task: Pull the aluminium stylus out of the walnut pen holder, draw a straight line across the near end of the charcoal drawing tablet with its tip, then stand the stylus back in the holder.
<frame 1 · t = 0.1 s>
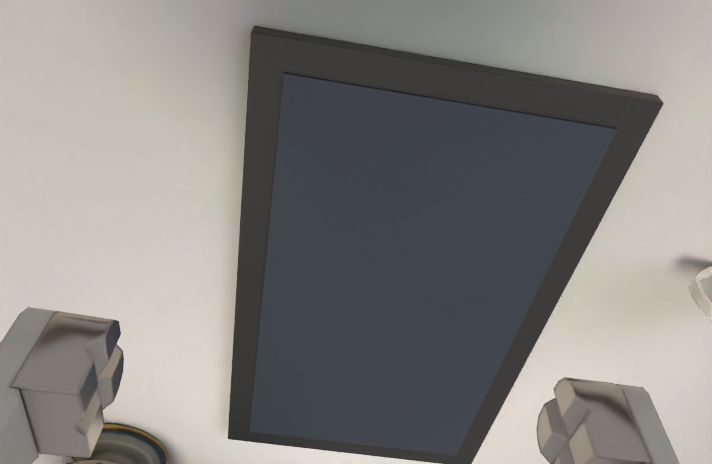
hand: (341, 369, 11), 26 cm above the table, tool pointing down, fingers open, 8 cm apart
apothecary jar: (120, 449, 61), on the table
drawing tablet: (391, 303, 46), on the table
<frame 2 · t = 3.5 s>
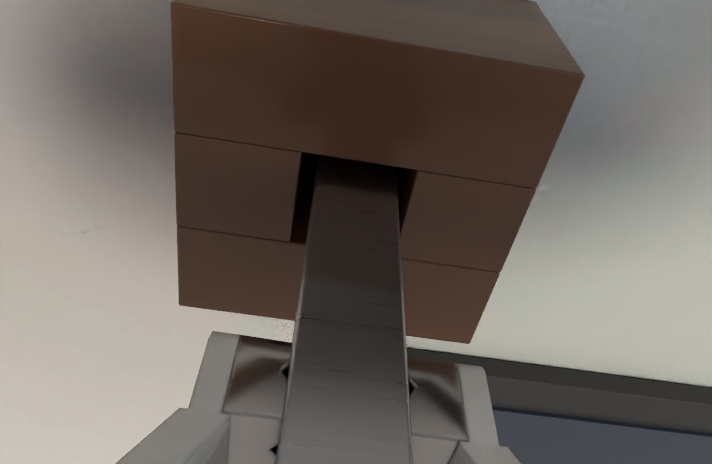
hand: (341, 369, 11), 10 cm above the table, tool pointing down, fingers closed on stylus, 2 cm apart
pen holder: (355, 116, 19), on the table
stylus: (347, 275, 13), in the pen holder, touching gripper
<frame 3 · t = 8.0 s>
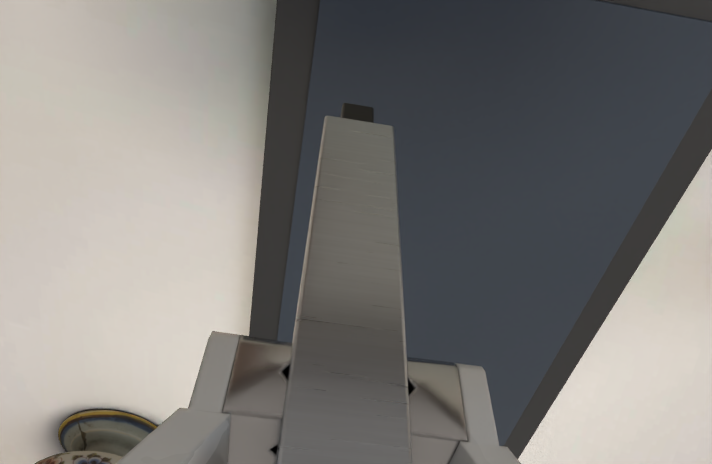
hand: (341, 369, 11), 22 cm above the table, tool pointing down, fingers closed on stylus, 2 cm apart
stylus: (347, 276, 13), point 20 cm above the table, touching gripper
apothecary jar: (118, 439, 53), on the table
drawing tablet: (440, 263, 39), on the table
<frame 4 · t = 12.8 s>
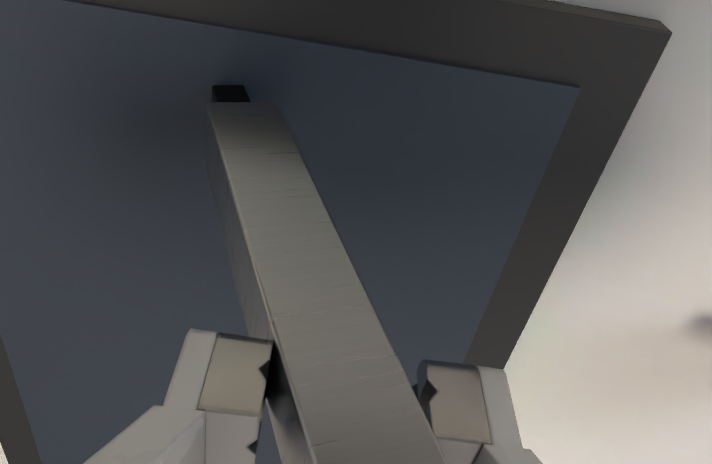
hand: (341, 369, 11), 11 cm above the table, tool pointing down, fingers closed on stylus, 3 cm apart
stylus: (286, 263, 13), on the drawing tablet, point 8 cm above the table, tilted 21°, touching gripper
drawing tablet: (235, 381, 29), on the table
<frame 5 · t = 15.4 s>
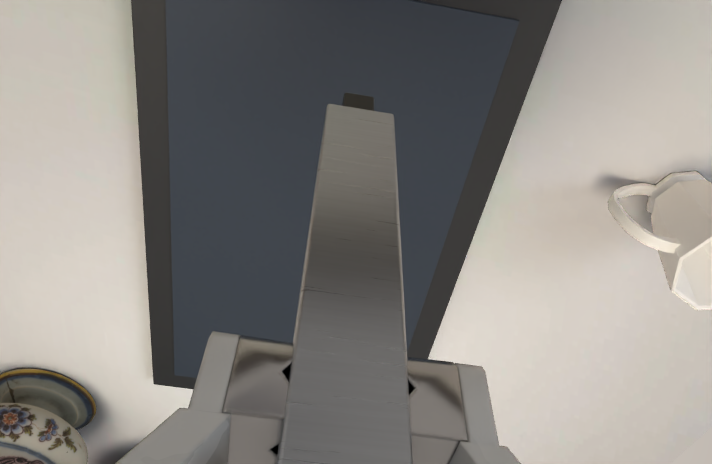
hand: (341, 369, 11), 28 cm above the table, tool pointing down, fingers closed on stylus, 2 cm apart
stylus: (349, 254, 14), point 25 cm above the table, touching gripper
apothecary jar: (46, 398, 59), on the table
drawing tablet: (308, 228, 45), on the table
cup: (658, 190, 42), on the table
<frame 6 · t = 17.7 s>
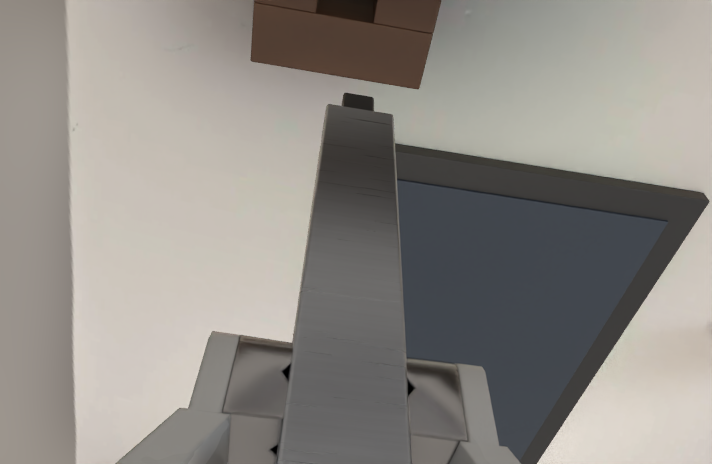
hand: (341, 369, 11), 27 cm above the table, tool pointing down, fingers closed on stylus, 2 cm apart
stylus: (348, 255, 14), point 24 cm above the table, touching gripper
drawing tablet: (454, 358, 52), on the table
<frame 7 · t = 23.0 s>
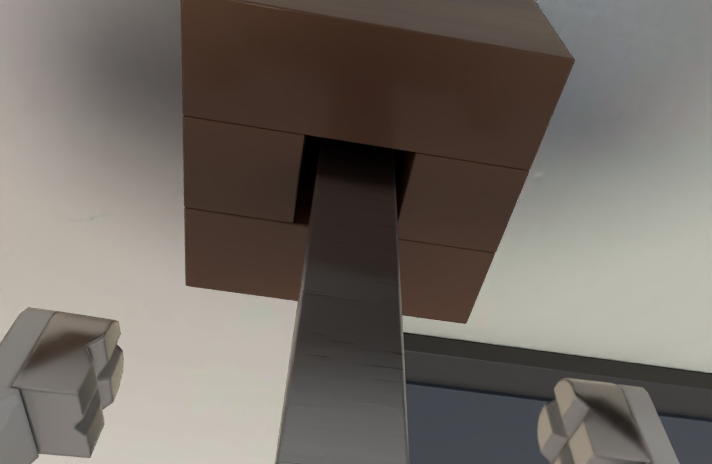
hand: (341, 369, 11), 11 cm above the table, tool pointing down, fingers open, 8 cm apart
pen holder: (356, 104, 20), on the table
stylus: (347, 257, 14), in the pen holder
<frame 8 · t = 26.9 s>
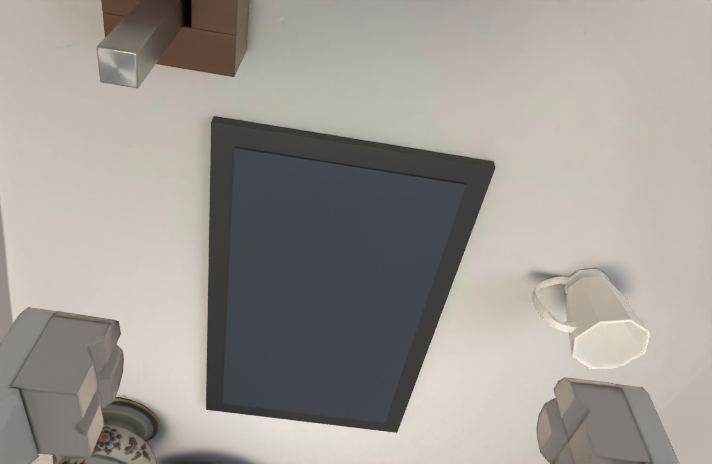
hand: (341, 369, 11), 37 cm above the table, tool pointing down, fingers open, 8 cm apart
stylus: (158, 19, 37), in the pen holder
apothecary jar: (121, 418, 77), on the table
drawing tablet: (324, 304, 62), on the table
cup: (571, 279, 60), on the table
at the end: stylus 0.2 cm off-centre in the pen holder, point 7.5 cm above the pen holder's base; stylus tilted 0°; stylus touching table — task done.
